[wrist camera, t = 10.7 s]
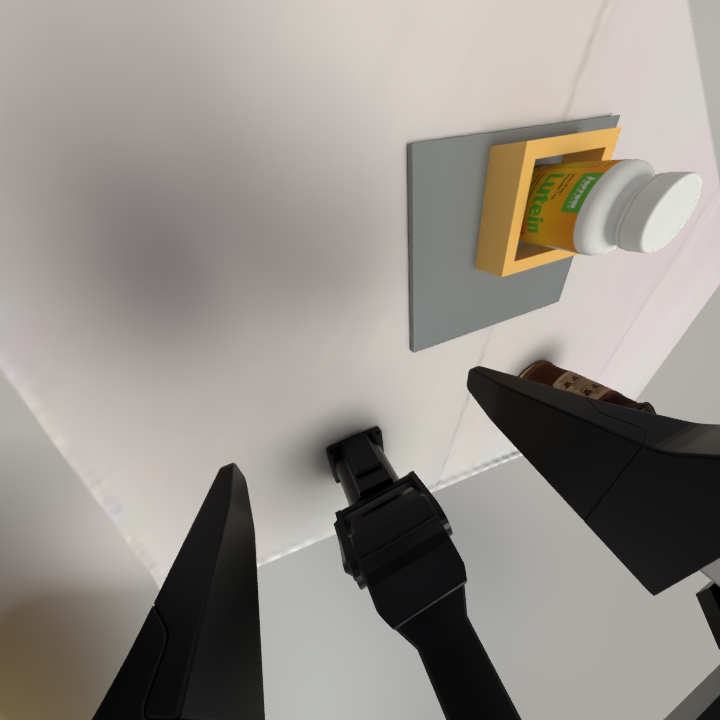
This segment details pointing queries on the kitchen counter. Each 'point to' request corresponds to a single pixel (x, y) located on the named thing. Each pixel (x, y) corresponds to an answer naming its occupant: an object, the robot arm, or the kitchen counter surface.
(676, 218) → the supplement bottle
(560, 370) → the coffee cup
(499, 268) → the orange collar
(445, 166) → the slate board
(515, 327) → the kitchen counter surface
